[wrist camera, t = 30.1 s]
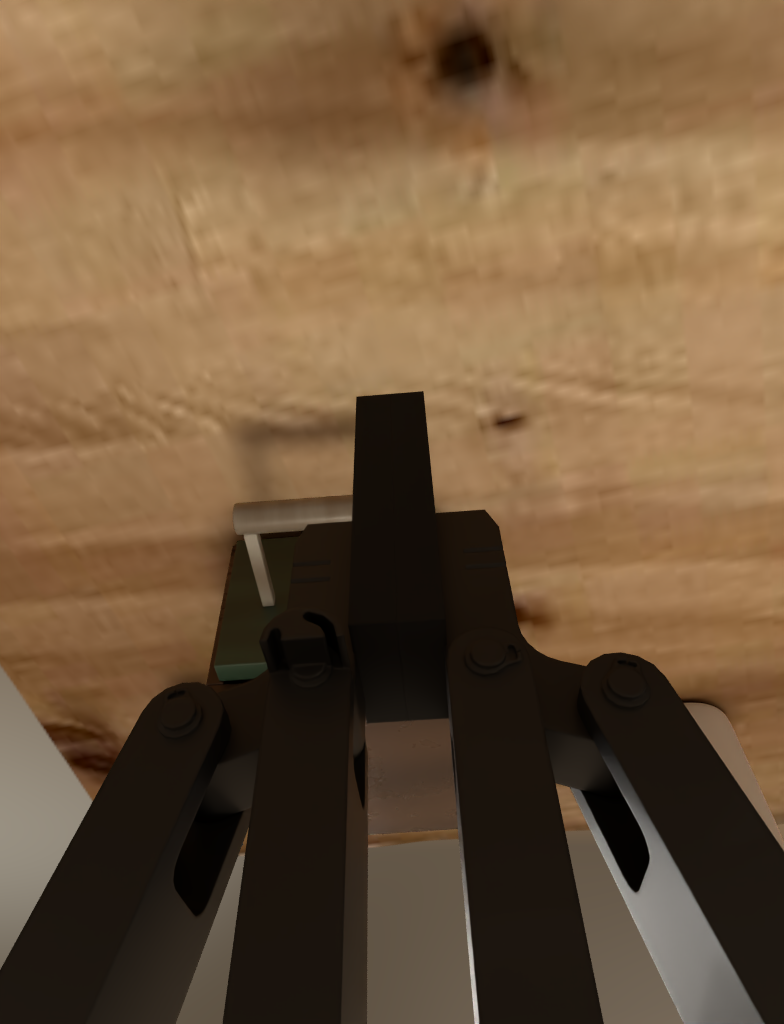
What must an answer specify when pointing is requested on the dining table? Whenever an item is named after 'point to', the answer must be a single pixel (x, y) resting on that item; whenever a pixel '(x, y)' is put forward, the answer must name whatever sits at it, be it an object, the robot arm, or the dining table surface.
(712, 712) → the pill bottle
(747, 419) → the dining table surface
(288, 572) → the drawer
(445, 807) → the cabinet
